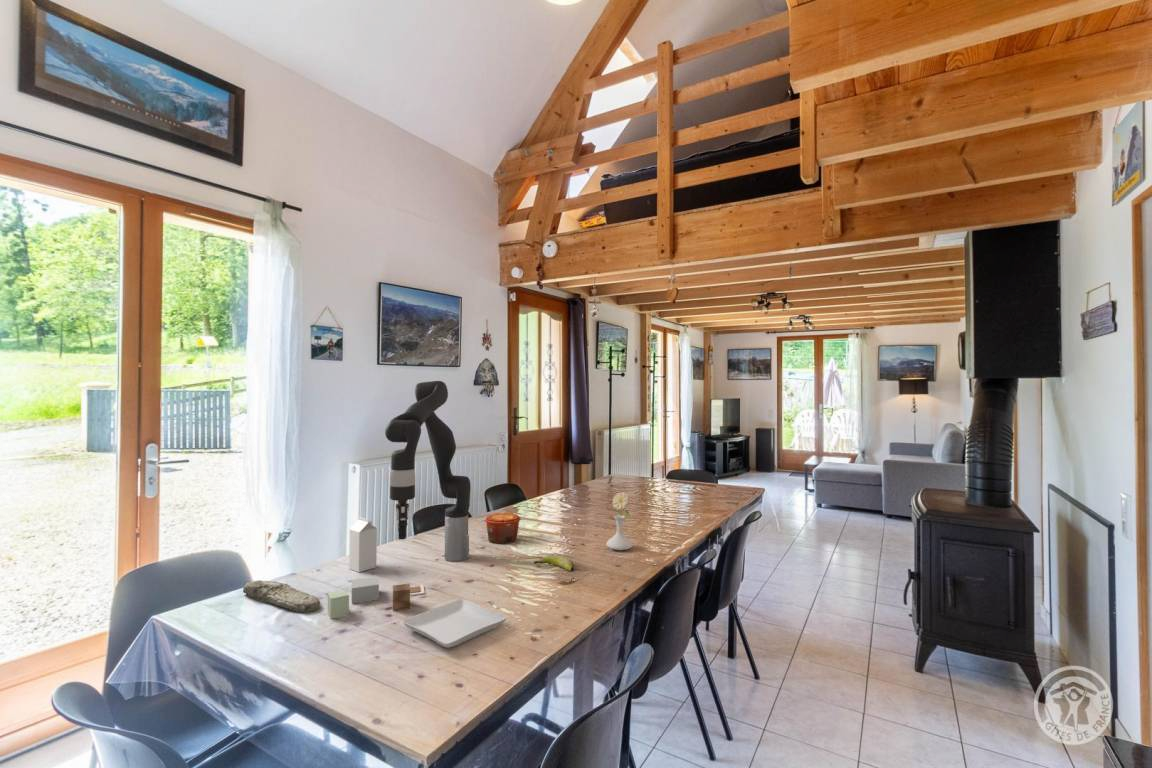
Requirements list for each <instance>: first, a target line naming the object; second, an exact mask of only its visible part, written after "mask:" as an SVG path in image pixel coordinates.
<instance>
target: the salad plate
mask: <svg viewBox="0 0 1152 768" xmlns="http://www.w3.org/2000/svg"><path fill="white" fill-rule="evenodd" d="M506 620H507V617H506V615H504V614H501V613H498V612H496V611H494V610H492V609H489V608H487V607H485V606H482V605H479V604H477V603H475V602H472V601H470V600H467V599H464V598H461V599H457V600H454V601H451V602H449V603H446V604H443V605H440V606H438V607H437V606H436V607H434V608H432V609H430V610H427V611H424V612H421V613H419V614H417V615H413V616H411V617H408V618H405V620H403V621H402V622H403V625H404V626H406V627H407V628H408V629H410V630H412V631H414V632H416V633H418V634H420V635H422V636H423V637H426V638H428V639H430V640H431V641H433V642H435V643H437V644H438V645H440V646H441V647H444V648H452V647H456V646H458V645H460V644H463V643H464V642H467V641H469V640H471V639H474V638H475V637H478V636H480V635H482V634H484V633H487V632H488V631H490V630H493V629H495V628H498V627H499V626H501V625H502V624H503V623H505V621H506Z"/></svg>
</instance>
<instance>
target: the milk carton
mask: <svg viewBox="0 0 1152 768" xmlns="http://www.w3.org/2000/svg"><path fill="white" fill-rule="evenodd" d="M357 518H358V519H357V520H356V521H355V523H353V524H352V526H350V528H349V547H348V548H349V551H348V553H349V554H348V558H349V560H348V562H349V563H348V568H349V570H352V571H355V572H357V573H361V572H364V571H368V570H371V569H375V568H377V552H378V551H377V549H378V548H377V544H378V543H377V542H378V540H377V539H378V538H377V537H378V534H377V533H378V528H377V527H376V526H374V525H373V522H372V520H369V519H368V518H366V517H360V516H358V517H357Z"/></svg>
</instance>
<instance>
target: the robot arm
mask: <svg viewBox="0 0 1152 768" xmlns="http://www.w3.org/2000/svg"><path fill="white" fill-rule="evenodd" d="M448 391H449V390H448V387H447V384H446V383H445V382H444V381H441V380H434V381H423V382H419V383H417V384H416V385H415V387H414V397H415V399H416V402H414V403H412V404H411V405H409V407H408V408H407V409H406V410H405V411H404V412H403V413H402V414H400V415H397V416H396V417H394V418H392V419H390V421H389V422H388V423H387V424H386V427H385V431H384V432H385V433H384V434H385V435H384V436H385V437H386V439H387V440H388V441H389V442H391V443H406V446H405V447H404V448H402V449H398V450H393V452H391V457H390V463H391V464H390V466H391V467H390V468H391V469H390V470H391V471H390V474H389V475H390V477H389V481H390V482H389V499H390V500H391V501H397V503H396V504H395V513H396V521H397V529H398V530H397V531H398V539H399V540H405V539H407V526H408V520H409V511H410V503H409V502H408V501H410V500H413V499H414V498H416V472H415V470H416V469H415V463H416V462H415V461H416V452H417V447H418V445H419V442H420V437H421V434H422V426H423V424H425V427H426V431H427V435H428V439H429V444H430V448H431V452H432V454H433V456H434V457H433V458H434V460H435V465H436V469H437V475H438V481H439V488H440V491H441V494H442V496H443V497H444V498H446V499H447V498H448V499H454V500H456V503H455V504H454V505H451V506H448V507H446V509H445V510H444V560H445V561H448V562H460V561H464V560H468V559H470V534H469V510H470V504H471V503H470V502H471V490H472V489H471V488H472V487H471V486H472V485H471V480H470V478H469V477H468V476H465V475H455V474H454V475H453V473H452V469H451V462H452V461H453V458H454V455H455V453H456V451H457V450H456V449H457V445H456V440H455V436H454V433H453V431H452V429H451V428H450V427H449V426H448V425H447V424H446V423H445V422H444V421H443V420H442V419H440V417H439V416H438V415H437V414H436V412H435V411H436V410H437V411H438V409H439V408H441V406H444V405H445V403H446V402H447V400H448V397H449V392H448ZM407 502H408V503H407Z"/></svg>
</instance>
